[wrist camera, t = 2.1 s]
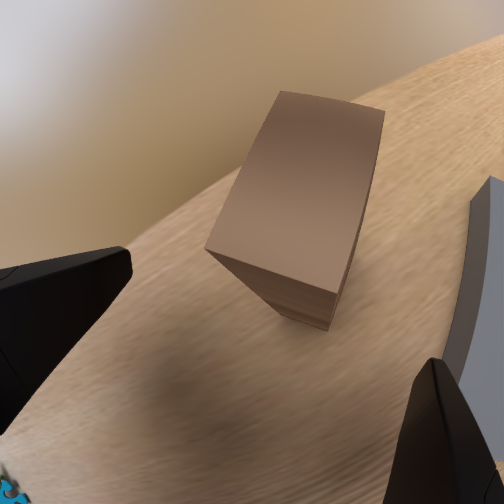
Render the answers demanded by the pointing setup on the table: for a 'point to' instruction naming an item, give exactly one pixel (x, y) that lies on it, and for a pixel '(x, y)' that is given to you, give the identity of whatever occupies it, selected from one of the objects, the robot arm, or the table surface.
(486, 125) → the table surface
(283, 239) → the walnut peg
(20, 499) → the gear
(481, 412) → the socket block
